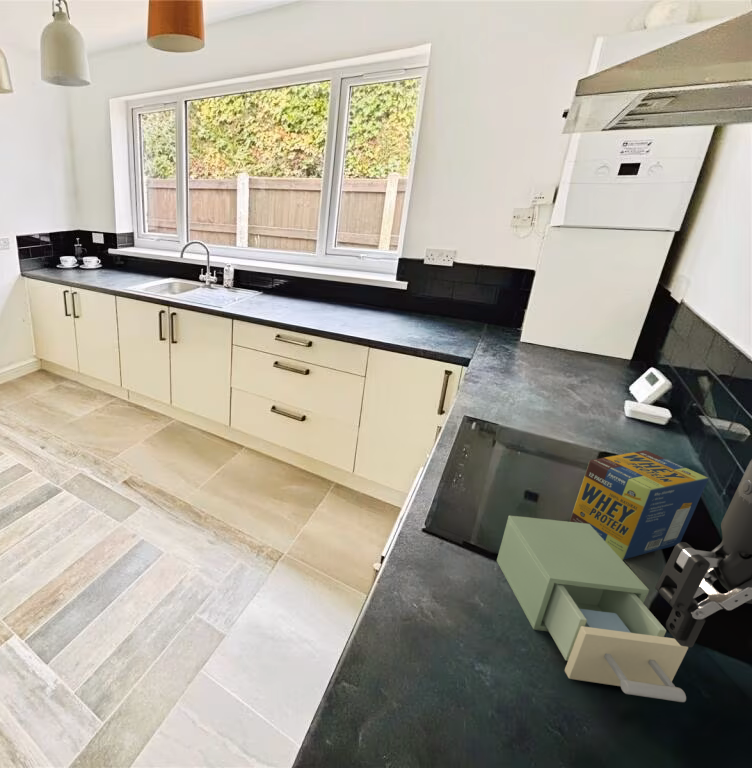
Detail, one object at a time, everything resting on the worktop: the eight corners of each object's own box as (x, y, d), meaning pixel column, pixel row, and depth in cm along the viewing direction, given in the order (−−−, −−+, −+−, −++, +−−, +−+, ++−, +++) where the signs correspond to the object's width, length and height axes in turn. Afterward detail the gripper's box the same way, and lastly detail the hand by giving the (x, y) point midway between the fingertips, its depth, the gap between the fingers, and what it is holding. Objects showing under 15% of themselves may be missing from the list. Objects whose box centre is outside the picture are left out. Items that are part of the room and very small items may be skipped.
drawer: (696, 734, 53) (723, 686, 50) (590, 717, 55) (609, 670, 52) (603, 608, 70) (619, 567, 67) (524, 598, 72) (536, 558, 69)
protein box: (565, 528, 90) (588, 459, 84) (621, 515, 94) (646, 449, 89) (621, 565, 80) (650, 489, 75) (680, 549, 85) (711, 476, 79)
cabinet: (627, 642, 66) (649, 590, 62) (533, 629, 67) (550, 578, 64) (573, 569, 79) (589, 523, 76) (496, 560, 81) (508, 515, 77)
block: (607, 634, 64) (616, 613, 63) (625, 660, 61) (635, 637, 59) (569, 629, 65) (576, 608, 64) (584, 654, 61) (593, 632, 60)
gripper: (744, 521, 36) (672, 669, 42) (960, 543, 34) (854, 696, 40) (675, 472, 43) (621, 605, 49) (851, 488, 41) (774, 625, 47)
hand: (726, 646), depth 44 cm, fingers open, 8 cm apart
